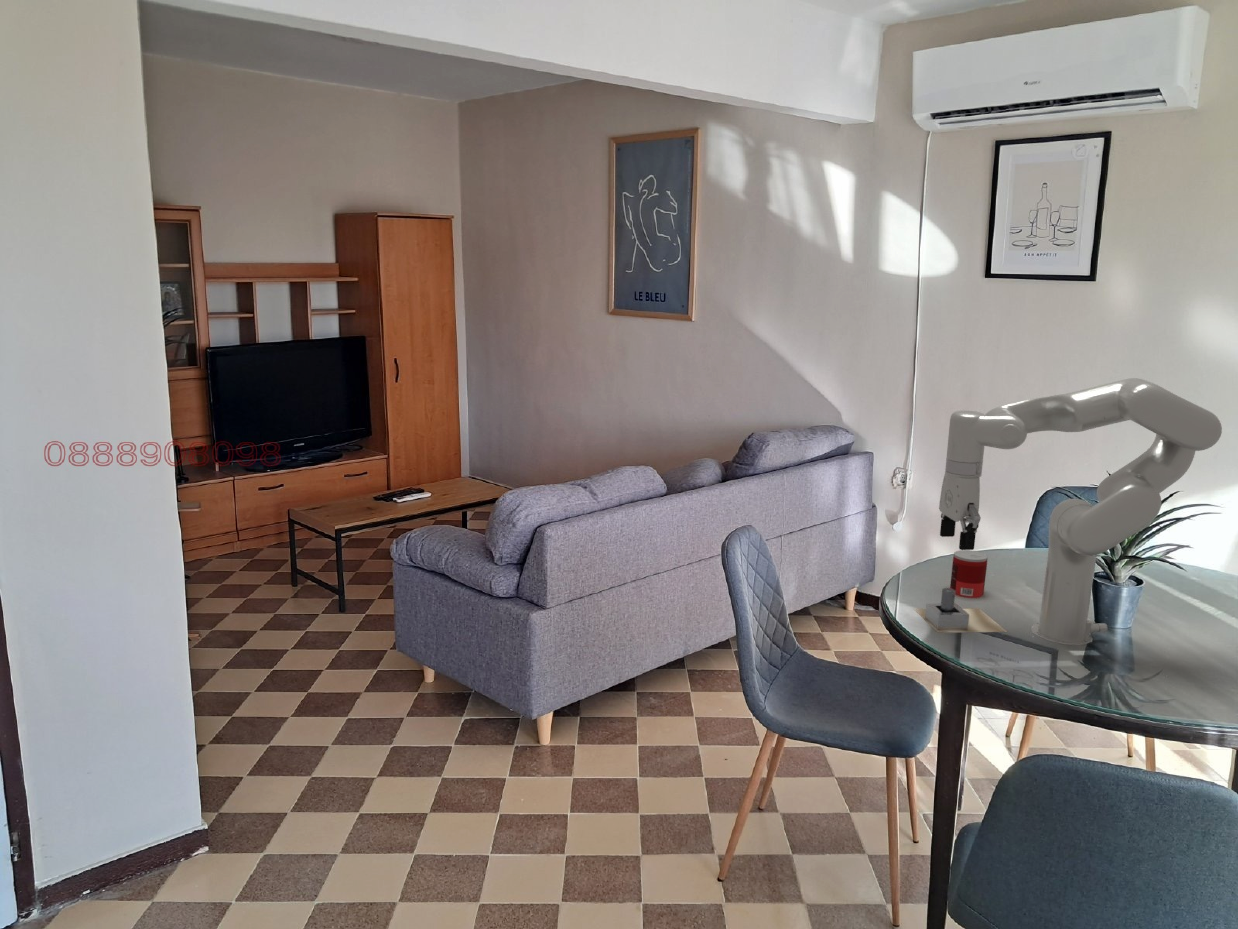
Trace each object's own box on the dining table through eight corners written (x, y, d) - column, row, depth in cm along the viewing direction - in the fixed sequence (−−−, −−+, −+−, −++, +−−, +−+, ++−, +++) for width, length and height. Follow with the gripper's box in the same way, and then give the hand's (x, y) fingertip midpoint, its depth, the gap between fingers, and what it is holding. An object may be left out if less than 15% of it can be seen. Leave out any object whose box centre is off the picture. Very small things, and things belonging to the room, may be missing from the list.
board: (978, 613, 226) (978, 608, 226) (1006, 636, 212) (1007, 631, 212) (913, 614, 225) (913, 609, 224) (937, 637, 211) (938, 632, 211)
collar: (954, 617, 220) (955, 603, 219) (967, 629, 213) (969, 614, 212) (924, 618, 219) (926, 603, 218) (937, 629, 212) (939, 615, 211)
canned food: (989, 600, 235) (994, 557, 232) (963, 604, 232) (968, 561, 230) (968, 590, 242) (972, 548, 239) (942, 593, 239) (947, 551, 237)
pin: (948, 621, 217) (952, 588, 216) (954, 626, 215) (957, 592, 213) (936, 621, 217) (940, 588, 215) (942, 626, 214) (945, 592, 213)
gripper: (930, 459, 216) (924, 531, 220) (964, 477, 199) (957, 555, 203) (962, 459, 217) (955, 531, 221) (999, 476, 200) (991, 554, 204)
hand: (956, 542), depth 212 cm, fingers open, 9 cm apart
